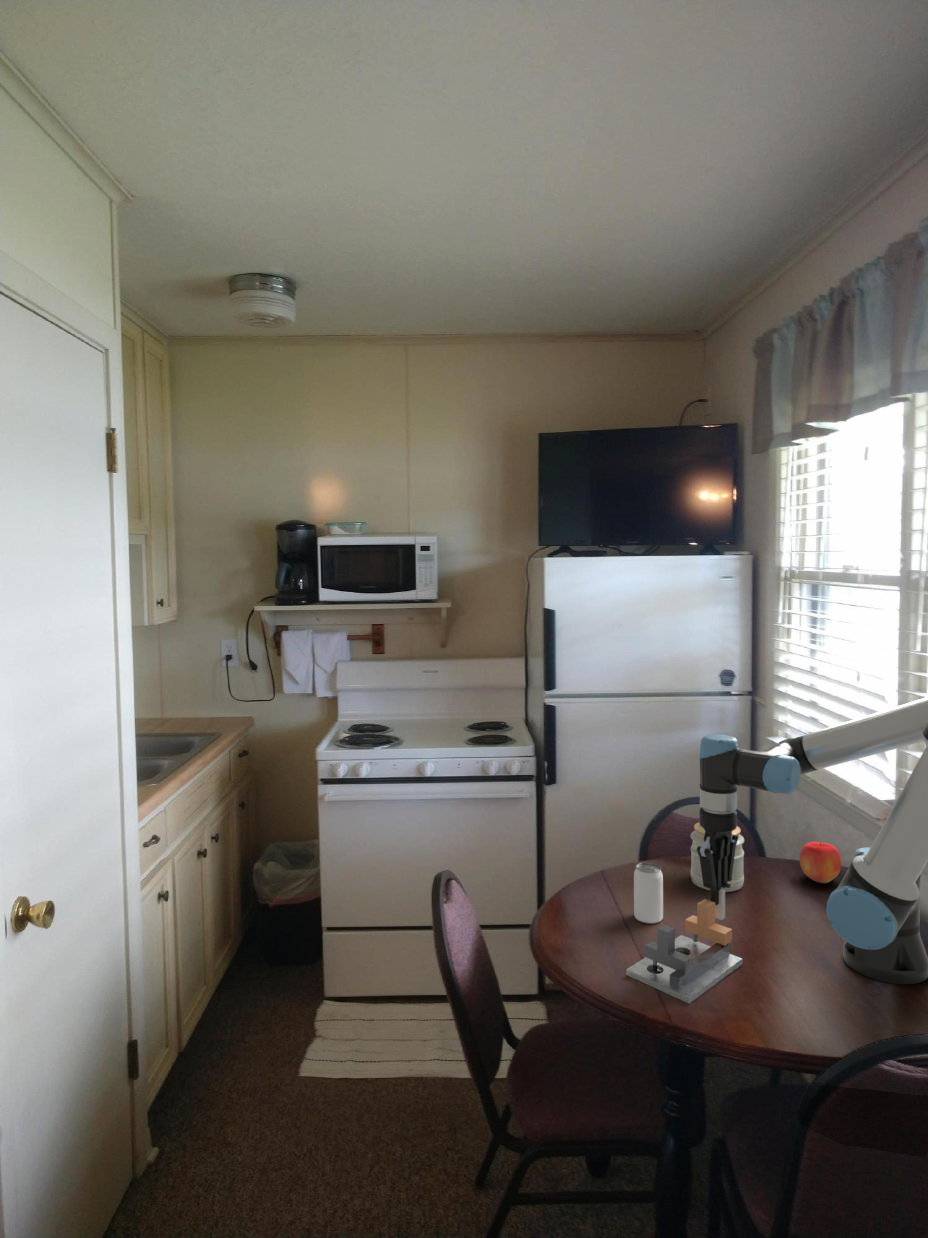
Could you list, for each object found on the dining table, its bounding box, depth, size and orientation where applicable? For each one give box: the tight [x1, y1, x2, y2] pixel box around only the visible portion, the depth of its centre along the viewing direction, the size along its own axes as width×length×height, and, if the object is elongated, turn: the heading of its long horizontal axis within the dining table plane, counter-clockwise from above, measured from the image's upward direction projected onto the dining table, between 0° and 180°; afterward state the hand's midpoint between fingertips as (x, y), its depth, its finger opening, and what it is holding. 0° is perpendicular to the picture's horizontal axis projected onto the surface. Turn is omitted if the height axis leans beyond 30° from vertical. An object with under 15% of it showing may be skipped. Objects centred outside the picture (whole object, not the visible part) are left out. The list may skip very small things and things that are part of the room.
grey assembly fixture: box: [625, 924, 743, 1004], centre depth 152 cm, size 14×20×10 cm
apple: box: [799, 841, 842, 884], centre depth 193 cm, size 10×10×10 cm
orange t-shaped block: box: [684, 898, 733, 946], centre depth 158 cm, size 9×3×9 cm, turn 42°
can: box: [633, 862, 664, 925], centre depth 175 cm, size 6×6×12 cm
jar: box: [690, 821, 745, 893], centre depth 194 cm, size 13×13×18 cm
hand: (717, 917), depth 162 cm, fingers closed
